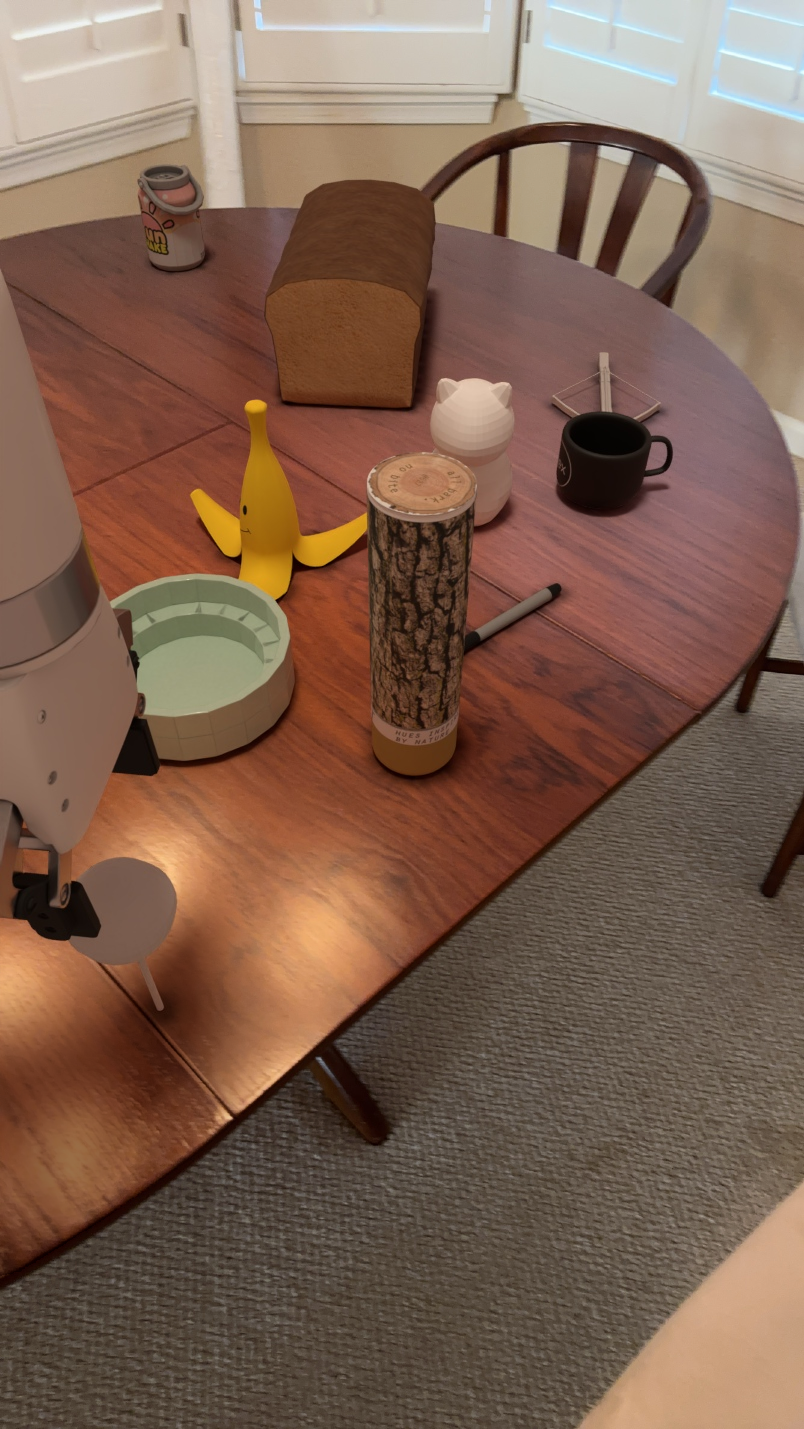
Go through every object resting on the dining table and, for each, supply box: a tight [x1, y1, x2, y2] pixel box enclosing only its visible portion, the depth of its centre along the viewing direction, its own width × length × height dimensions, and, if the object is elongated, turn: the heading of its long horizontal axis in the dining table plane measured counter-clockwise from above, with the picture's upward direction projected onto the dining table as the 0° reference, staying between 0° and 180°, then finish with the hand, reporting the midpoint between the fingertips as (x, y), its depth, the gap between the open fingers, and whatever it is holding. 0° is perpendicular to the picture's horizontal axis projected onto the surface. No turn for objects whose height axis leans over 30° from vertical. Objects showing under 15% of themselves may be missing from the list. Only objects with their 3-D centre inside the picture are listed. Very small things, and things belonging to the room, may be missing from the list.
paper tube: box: [366, 451, 477, 776], centre depth 67 cm, size 7×7×25 cm
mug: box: [555, 410, 674, 510], centre depth 98 cm, size 12×9×7 cm
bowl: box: [109, 572, 296, 762], centre depth 78 cm, size 17×17×6 cm
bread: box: [263, 179, 437, 409], centre depth 115 cm, size 18×30×16 cm, turn 176°
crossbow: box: [551, 351, 661, 423], centre depth 113 cm, size 16×13×2 cm
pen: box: [464, 582, 563, 652], centre depth 85 cm, size 1×16×1 cm, turn 130°
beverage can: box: [136, 163, 206, 272], centre depth 134 cm, size 9×8×12 cm
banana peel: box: [189, 399, 367, 601], centre depth 86 cm, size 17×19×17 cm
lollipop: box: [67, 856, 178, 1011], centre depth 55 cm, size 6×6×15 cm
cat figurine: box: [429, 377, 516, 527], centre depth 93 cm, size 9×12×15 cm
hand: (102, 844), depth 48 cm, fingers open, 9 cm apart
